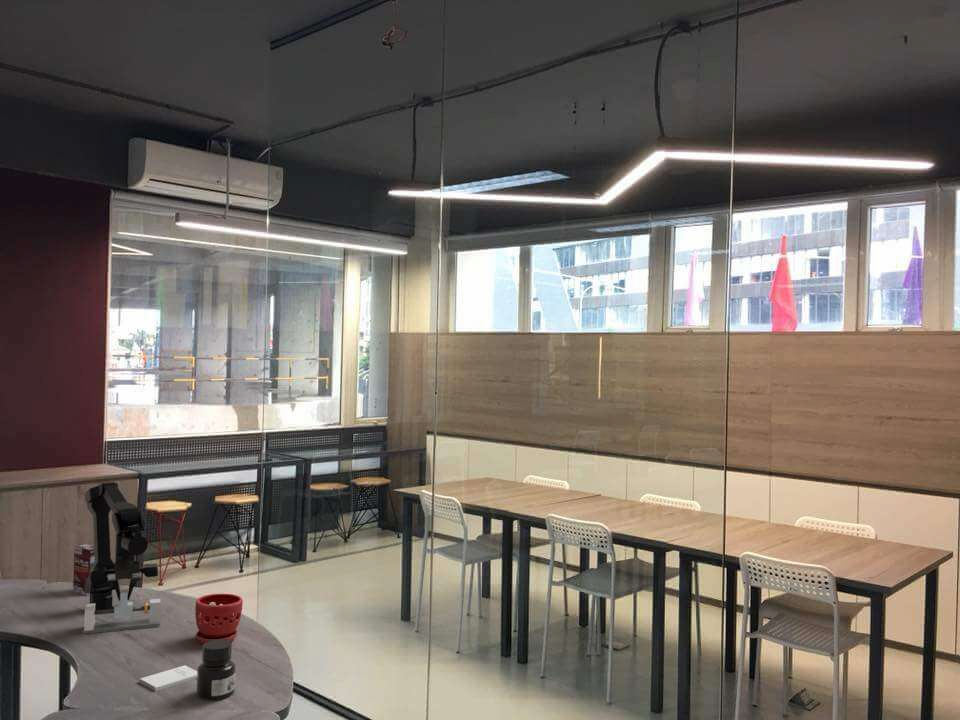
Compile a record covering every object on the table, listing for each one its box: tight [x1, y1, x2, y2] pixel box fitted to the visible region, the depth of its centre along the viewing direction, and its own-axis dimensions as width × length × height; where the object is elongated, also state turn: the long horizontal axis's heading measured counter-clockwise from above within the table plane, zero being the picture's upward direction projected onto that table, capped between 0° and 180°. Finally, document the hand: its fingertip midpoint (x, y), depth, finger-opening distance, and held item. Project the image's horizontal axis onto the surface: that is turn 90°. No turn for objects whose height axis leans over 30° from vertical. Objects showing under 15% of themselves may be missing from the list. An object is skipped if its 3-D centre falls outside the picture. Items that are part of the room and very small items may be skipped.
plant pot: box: [194, 593, 244, 644], centre depth 227 cm, size 13×13×12 cm
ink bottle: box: [196, 640, 236, 701], centre depth 190 cm, size 10×9×12 cm
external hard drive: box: [138, 665, 197, 692], centre depth 197 cm, size 2×8×12 cm
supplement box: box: [72, 543, 95, 596], centre depth 270 cm, size 9×5×16 cm, turn 62°
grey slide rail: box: [82, 598, 161, 635], centre depth 236 cm, size 21×7×7 cm, turn 113°
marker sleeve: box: [113, 588, 134, 620], centre depth 236 cm, size 5×4×8 cm
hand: (123, 600), depth 236 cm, fingers closed on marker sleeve, 2 cm apart
